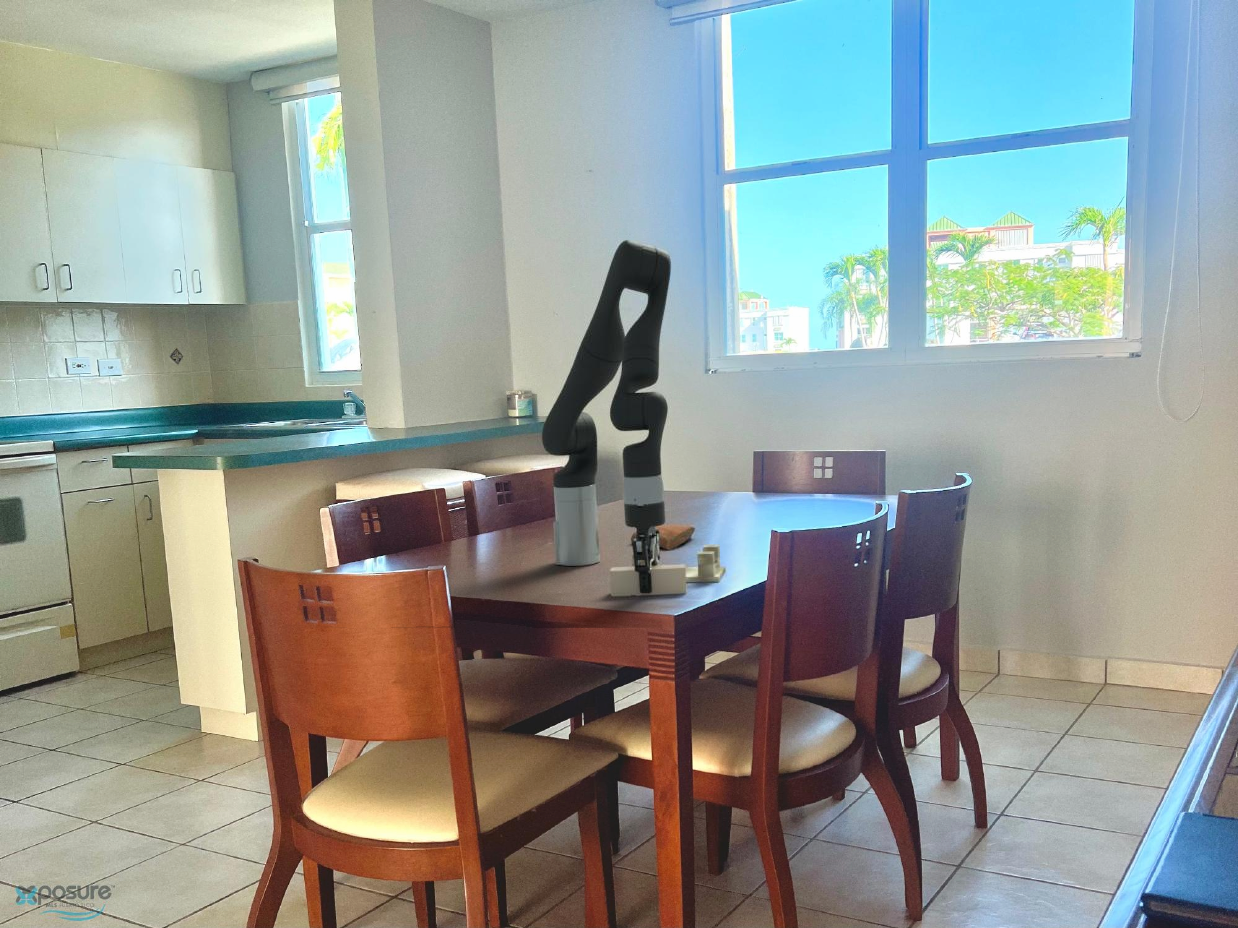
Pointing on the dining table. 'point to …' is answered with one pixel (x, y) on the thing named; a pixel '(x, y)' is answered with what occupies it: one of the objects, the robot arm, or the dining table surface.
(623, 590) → the clay bar
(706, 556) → the rack
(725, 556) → the dining table surface
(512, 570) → the dining table surface
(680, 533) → the ceramic shard
